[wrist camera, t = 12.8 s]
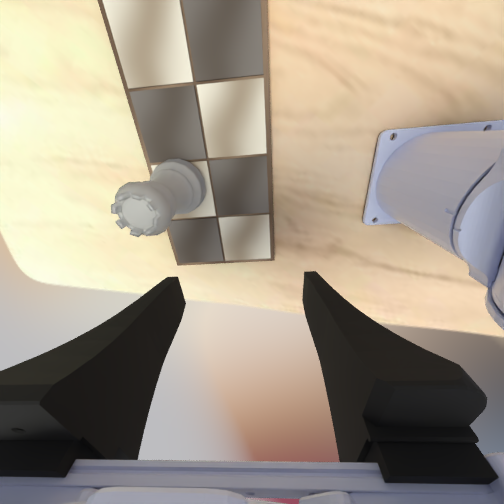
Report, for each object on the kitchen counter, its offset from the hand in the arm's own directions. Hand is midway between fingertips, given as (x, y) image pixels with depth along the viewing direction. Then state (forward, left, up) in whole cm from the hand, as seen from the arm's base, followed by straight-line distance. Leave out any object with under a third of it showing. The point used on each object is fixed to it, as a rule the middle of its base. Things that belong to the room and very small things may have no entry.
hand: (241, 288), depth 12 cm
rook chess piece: (+6, -4, -10) cm, 12 cm away
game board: (+3, -6, -10) cm, 12 cm away
